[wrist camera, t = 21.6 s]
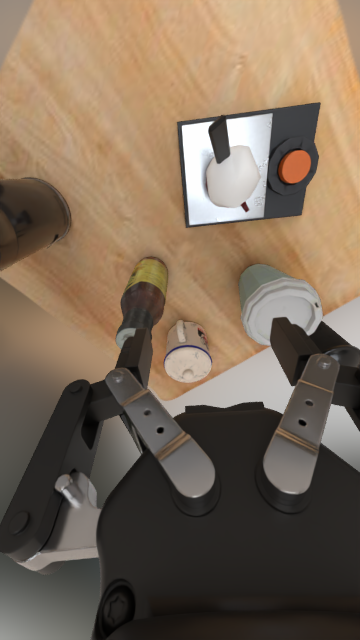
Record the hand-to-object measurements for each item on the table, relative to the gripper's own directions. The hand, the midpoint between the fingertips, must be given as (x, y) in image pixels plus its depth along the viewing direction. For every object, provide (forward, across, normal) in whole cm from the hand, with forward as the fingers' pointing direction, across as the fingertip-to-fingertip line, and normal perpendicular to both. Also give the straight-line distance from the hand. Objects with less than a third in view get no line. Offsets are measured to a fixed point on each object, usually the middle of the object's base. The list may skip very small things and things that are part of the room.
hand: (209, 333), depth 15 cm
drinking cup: (+28, -21, +19) cm, 40 cm away
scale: (+28, -8, -8) cm, 30 cm away
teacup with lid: (+28, +3, +20) cm, 35 cm away
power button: (+25, -14, -8) cm, 30 cm away
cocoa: (+25, -5, -8) cm, 26 cm away
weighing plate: (+25, -5, -8) cm, 27 cm away
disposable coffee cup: (+28, -11, +9) cm, 32 cm away
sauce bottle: (+28, +8, +6) cm, 30 cm away
